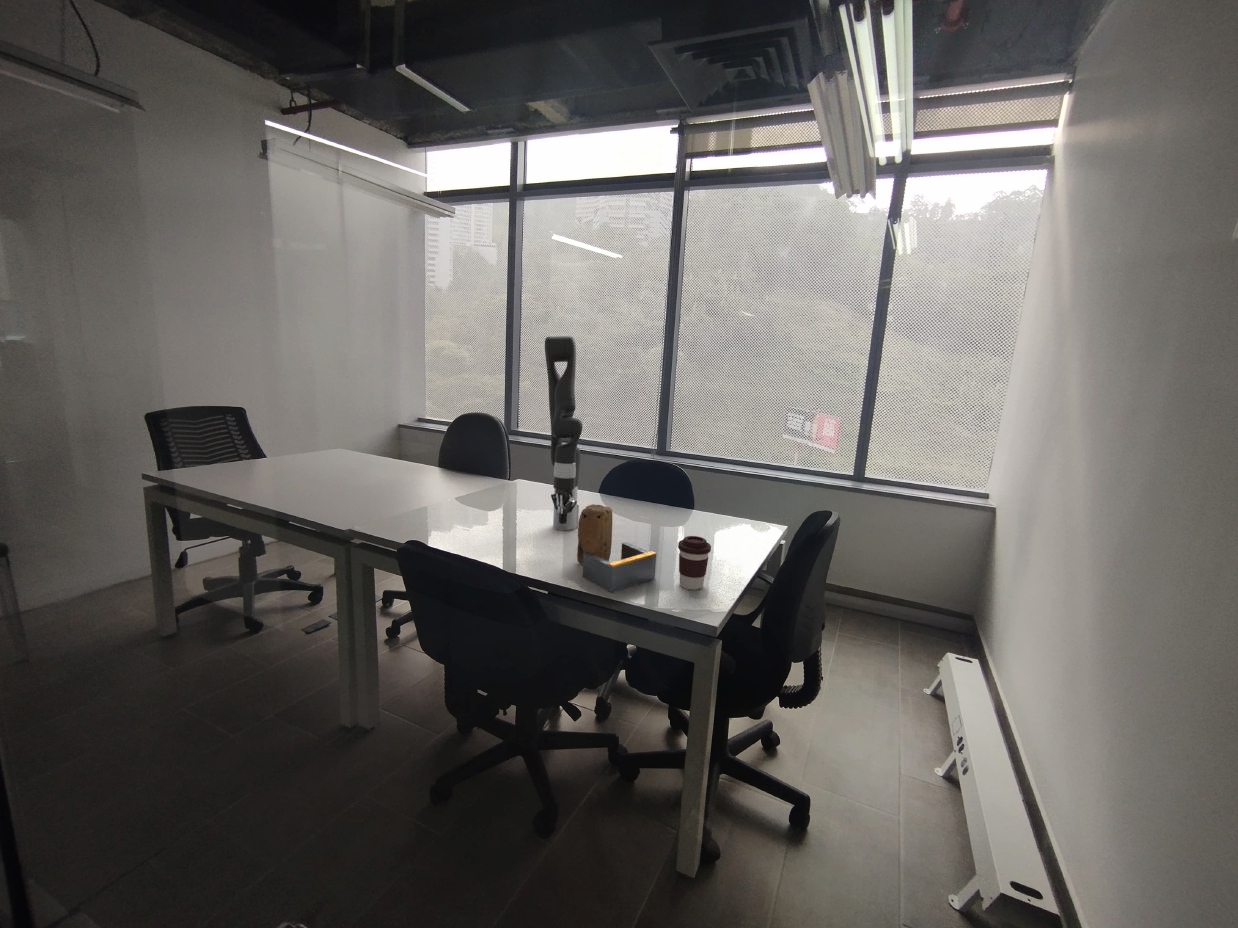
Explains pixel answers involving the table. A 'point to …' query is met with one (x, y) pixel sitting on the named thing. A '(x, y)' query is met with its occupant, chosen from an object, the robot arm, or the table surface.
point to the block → (595, 532)
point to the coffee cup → (693, 561)
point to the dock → (620, 568)
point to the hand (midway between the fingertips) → (562, 523)
